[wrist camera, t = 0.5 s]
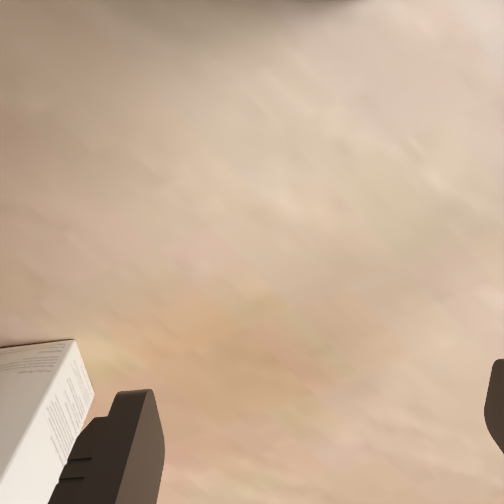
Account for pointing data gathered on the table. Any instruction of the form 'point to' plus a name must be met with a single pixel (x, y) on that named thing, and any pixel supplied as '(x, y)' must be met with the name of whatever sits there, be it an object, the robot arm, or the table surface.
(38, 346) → the skincare box
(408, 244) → the table surface
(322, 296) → the table surface
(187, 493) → the table surface
